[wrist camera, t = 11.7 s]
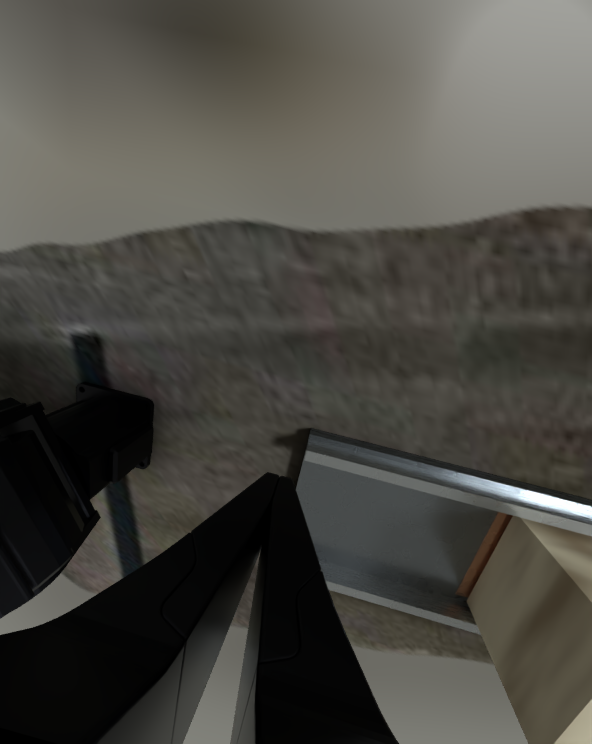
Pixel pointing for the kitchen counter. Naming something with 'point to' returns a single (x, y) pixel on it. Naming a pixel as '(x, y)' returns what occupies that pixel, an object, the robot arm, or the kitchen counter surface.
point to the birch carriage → (540, 628)
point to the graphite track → (414, 524)
